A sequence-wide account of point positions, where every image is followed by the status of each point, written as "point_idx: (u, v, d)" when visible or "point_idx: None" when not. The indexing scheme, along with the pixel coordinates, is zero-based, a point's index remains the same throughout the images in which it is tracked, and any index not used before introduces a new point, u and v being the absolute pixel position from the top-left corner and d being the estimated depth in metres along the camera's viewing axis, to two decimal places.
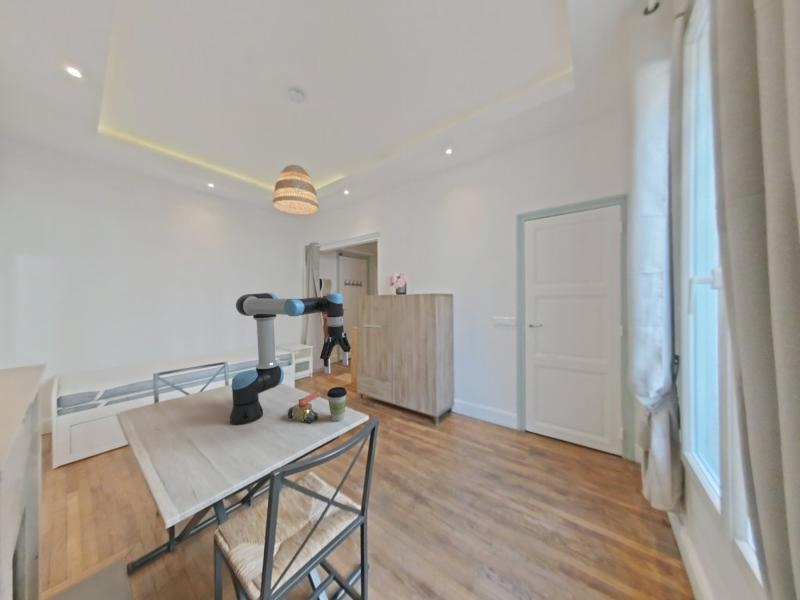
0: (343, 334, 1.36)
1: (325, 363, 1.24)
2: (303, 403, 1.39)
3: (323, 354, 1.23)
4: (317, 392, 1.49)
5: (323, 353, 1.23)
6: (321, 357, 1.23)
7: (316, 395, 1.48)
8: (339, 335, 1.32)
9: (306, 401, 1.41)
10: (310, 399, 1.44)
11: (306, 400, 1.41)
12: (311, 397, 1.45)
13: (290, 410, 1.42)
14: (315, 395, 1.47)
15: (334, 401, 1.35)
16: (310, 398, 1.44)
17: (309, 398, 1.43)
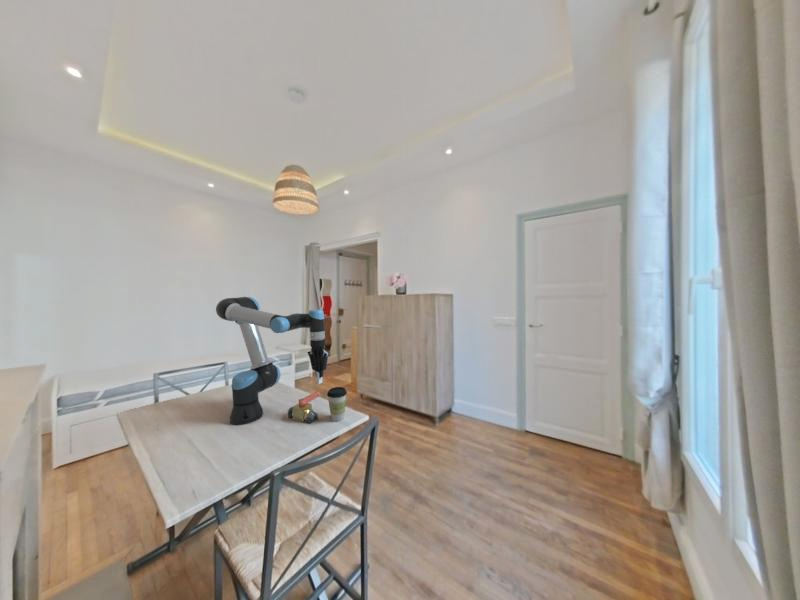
0: None
1: None
2: (303, 403, 1.39)
3: None
4: (317, 392, 1.49)
5: None
6: None
7: (316, 395, 1.48)
8: (319, 347, 1.41)
9: (306, 401, 1.41)
10: (310, 399, 1.44)
11: (306, 400, 1.41)
12: (311, 397, 1.45)
13: (290, 410, 1.42)
14: (315, 395, 1.47)
15: (334, 401, 1.35)
16: (310, 398, 1.44)
17: (309, 398, 1.43)
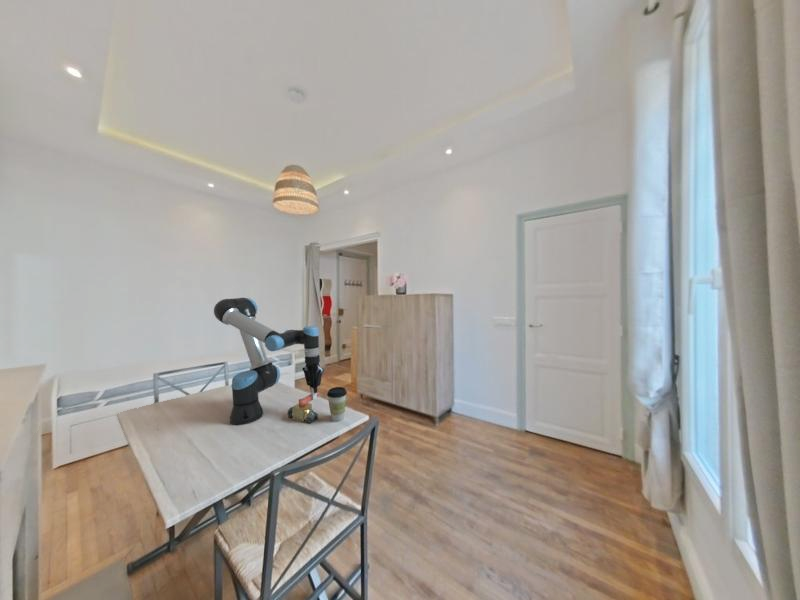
0: (319, 369, 1.43)
1: None
2: (303, 403, 1.39)
3: None
4: (317, 392, 1.49)
5: None
6: None
7: None
8: (314, 364, 1.43)
9: (306, 401, 1.41)
10: (310, 399, 1.44)
11: (306, 400, 1.41)
12: (311, 397, 1.45)
13: (290, 410, 1.42)
14: None
15: (334, 401, 1.35)
16: (310, 398, 1.44)
17: (309, 398, 1.43)
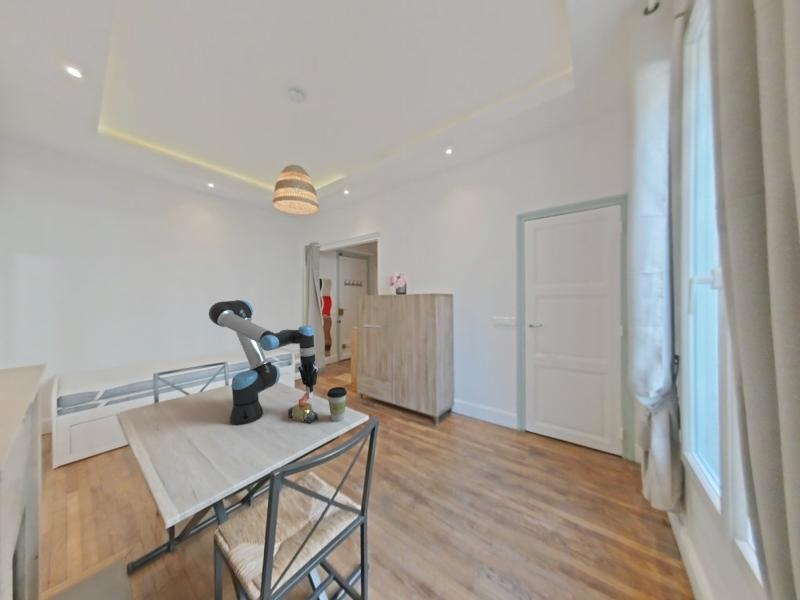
0: (315, 368, 1.44)
1: None
2: (304, 402, 1.40)
3: None
4: None
5: None
6: None
7: None
8: (309, 363, 1.44)
9: (305, 401, 1.42)
10: (307, 398, 1.45)
11: (305, 400, 1.42)
12: (307, 396, 1.46)
13: (290, 410, 1.42)
14: None
15: (334, 401, 1.35)
16: (307, 397, 1.45)
17: (306, 397, 1.44)
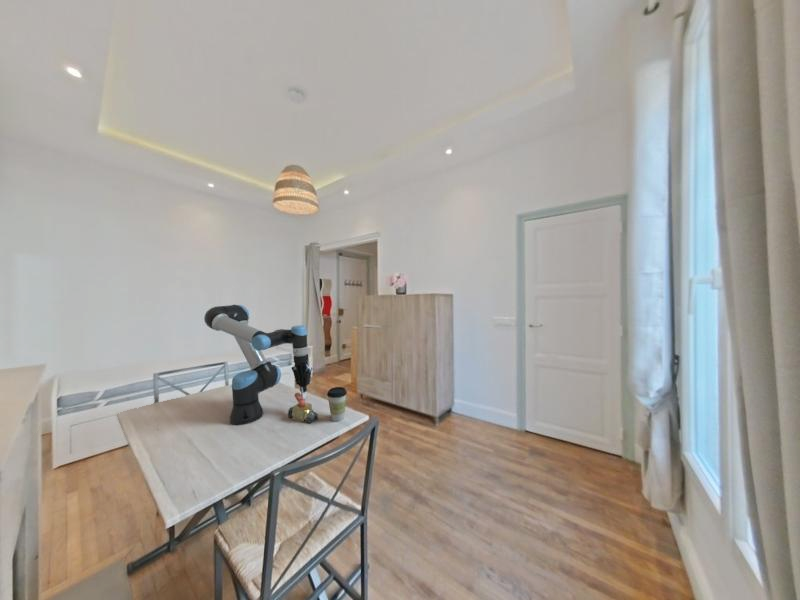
0: (308, 368, 1.43)
1: None
2: None
3: None
4: None
5: None
6: (298, 382, 1.48)
7: None
8: (303, 363, 1.44)
9: None
10: None
11: None
12: None
13: (290, 410, 1.42)
14: None
15: (334, 401, 1.35)
16: None
17: None
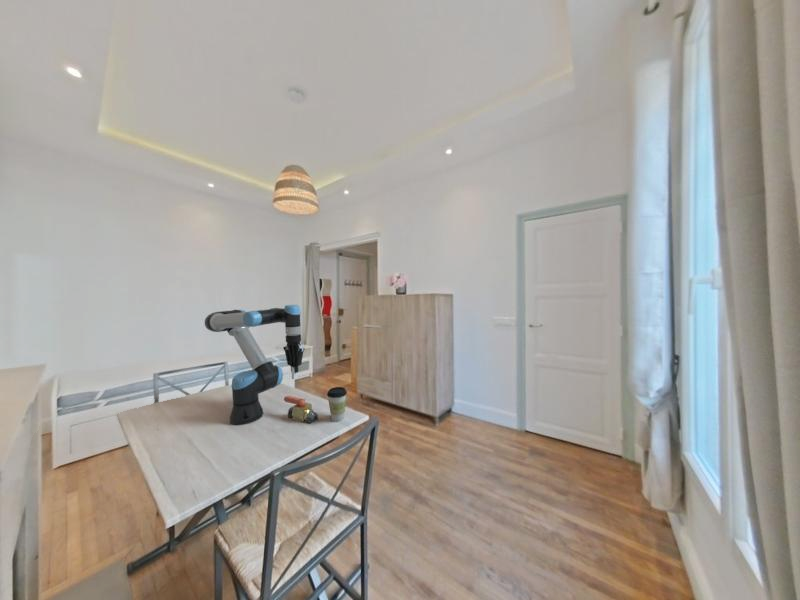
0: (300, 348, 1.41)
1: None
2: None
3: None
4: (288, 396, 1.45)
5: None
6: None
7: None
8: (295, 343, 1.41)
9: None
10: None
11: None
12: None
13: (290, 410, 1.42)
14: None
15: (334, 401, 1.35)
16: None
17: None
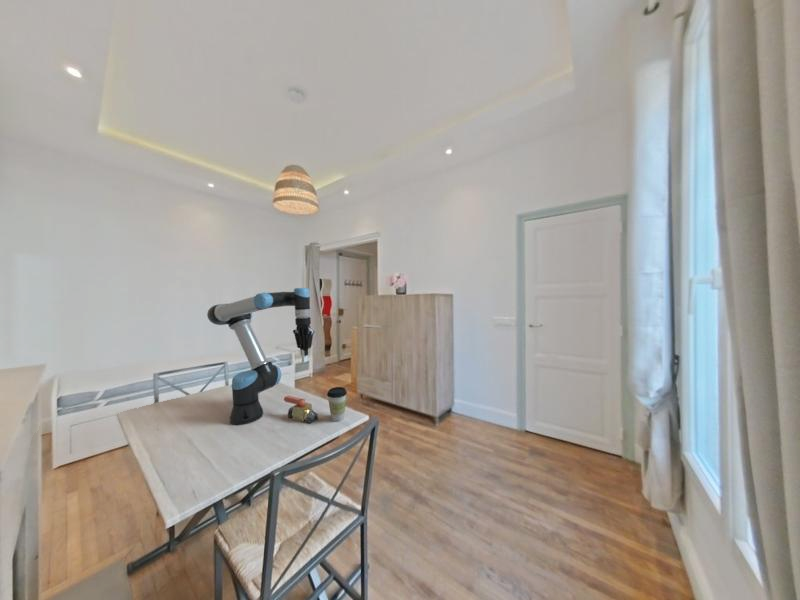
0: (310, 331, 1.41)
1: None
2: None
3: None
4: (288, 396, 1.45)
5: None
6: None
7: None
8: (304, 325, 1.41)
9: None
10: None
11: None
12: None
13: (290, 410, 1.42)
14: None
15: (334, 401, 1.35)
16: None
17: None
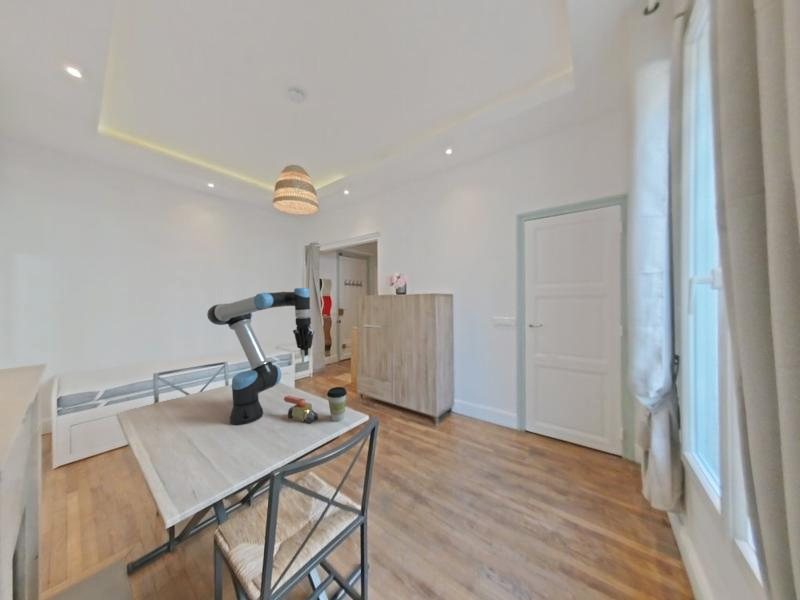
0: None
1: None
2: None
3: None
4: (288, 396, 1.45)
5: None
6: None
7: None
8: (305, 325, 1.41)
9: None
10: None
11: None
12: None
13: (290, 410, 1.42)
14: None
15: (334, 401, 1.35)
16: None
17: None
